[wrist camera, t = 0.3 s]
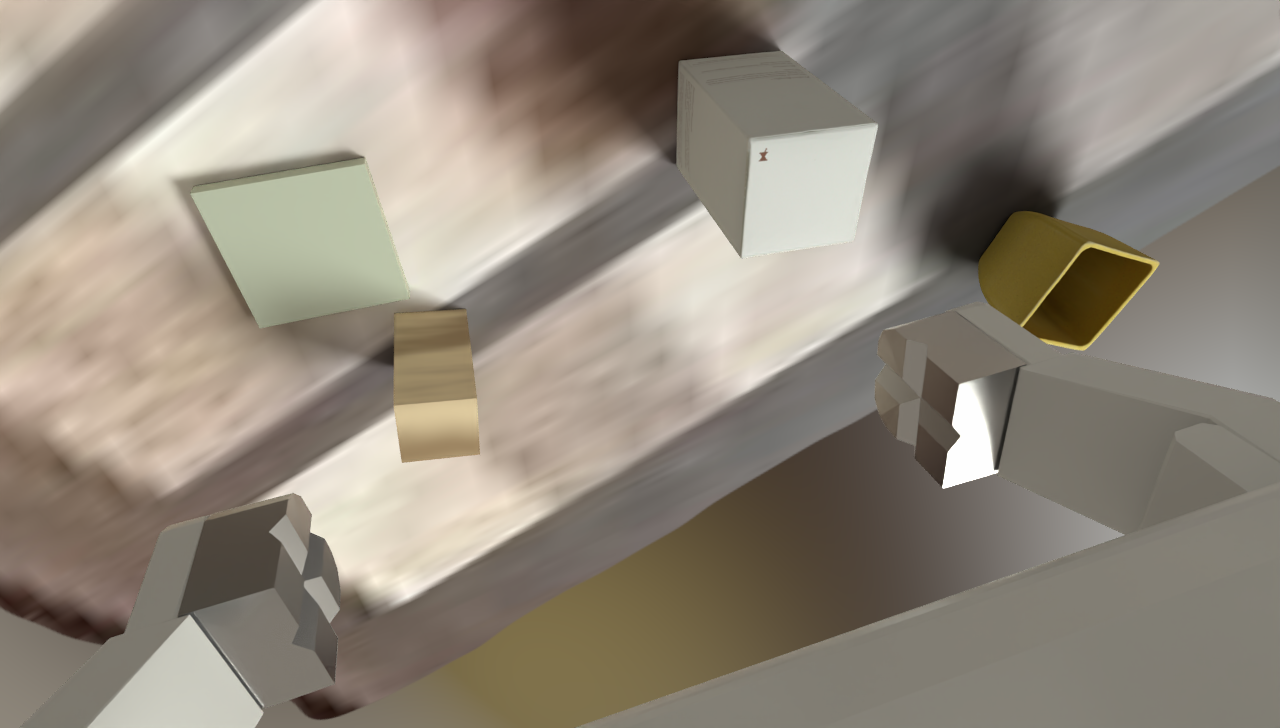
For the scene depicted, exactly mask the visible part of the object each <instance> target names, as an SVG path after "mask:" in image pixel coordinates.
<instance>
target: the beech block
mask: <svg viewBox="0 0 1280 728" xmlns="http://www.w3.org/2000/svg"><path fill="white" fill-rule="evenodd" d="M394 411H395V418H396V425H397V432H398V439H399V445H400V452H401V459H402V463H404V462H413V461H422V460H432V459H441V458H450V457H460V456H469V455H478V454H480V448H479V429H478V409H477V395H476V387H475V378H474V370H473V362H472V354H471V346H470V338H469V330H468V321H467V313H466V309H458V310H440V311H423V312H406V313H394Z"/></svg>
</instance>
